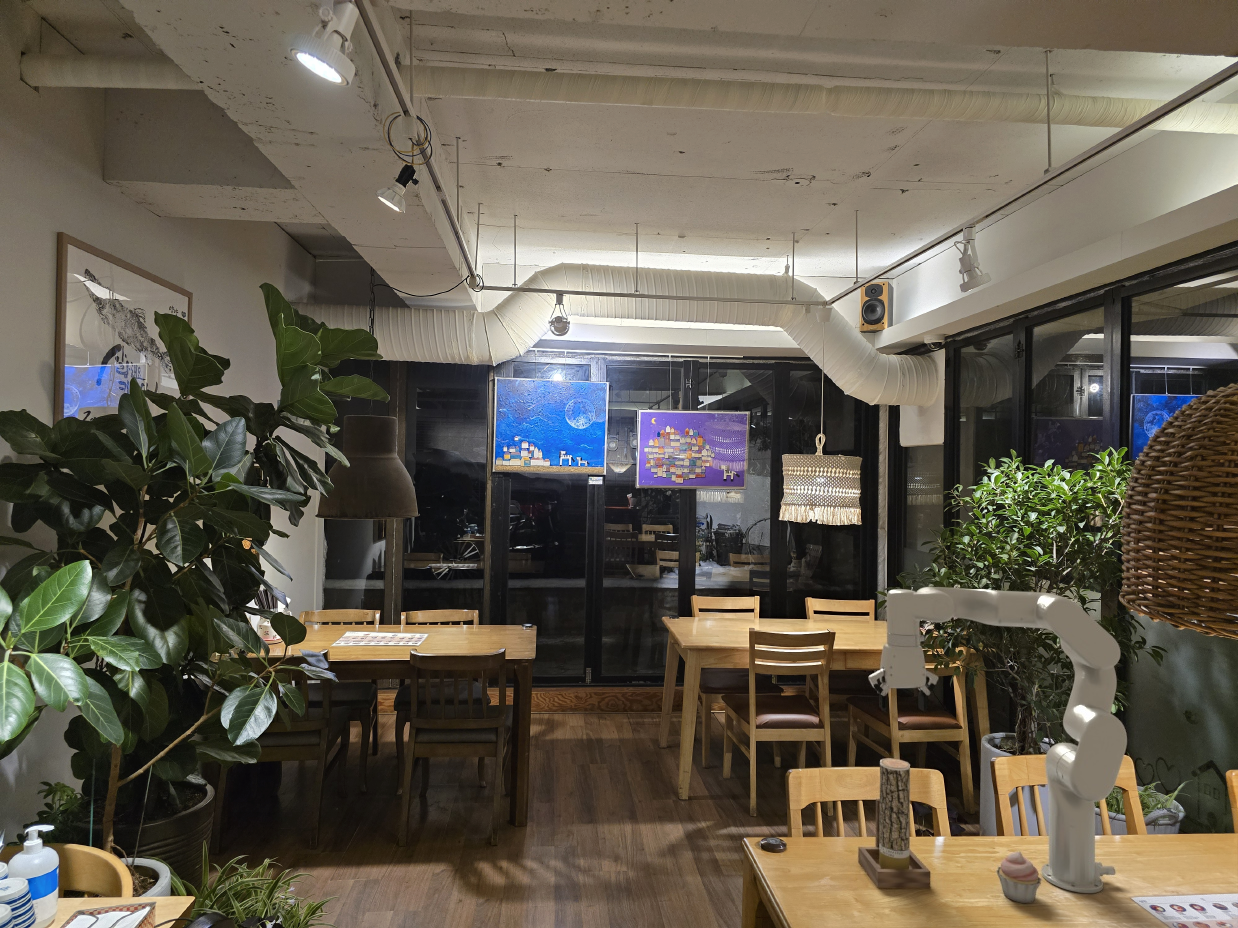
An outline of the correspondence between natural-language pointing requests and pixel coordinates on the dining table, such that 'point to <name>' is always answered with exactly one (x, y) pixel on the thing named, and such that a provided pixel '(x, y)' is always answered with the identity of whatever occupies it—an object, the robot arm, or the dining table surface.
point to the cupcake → (1018, 878)
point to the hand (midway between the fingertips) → (903, 710)
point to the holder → (892, 877)
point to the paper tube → (894, 814)
